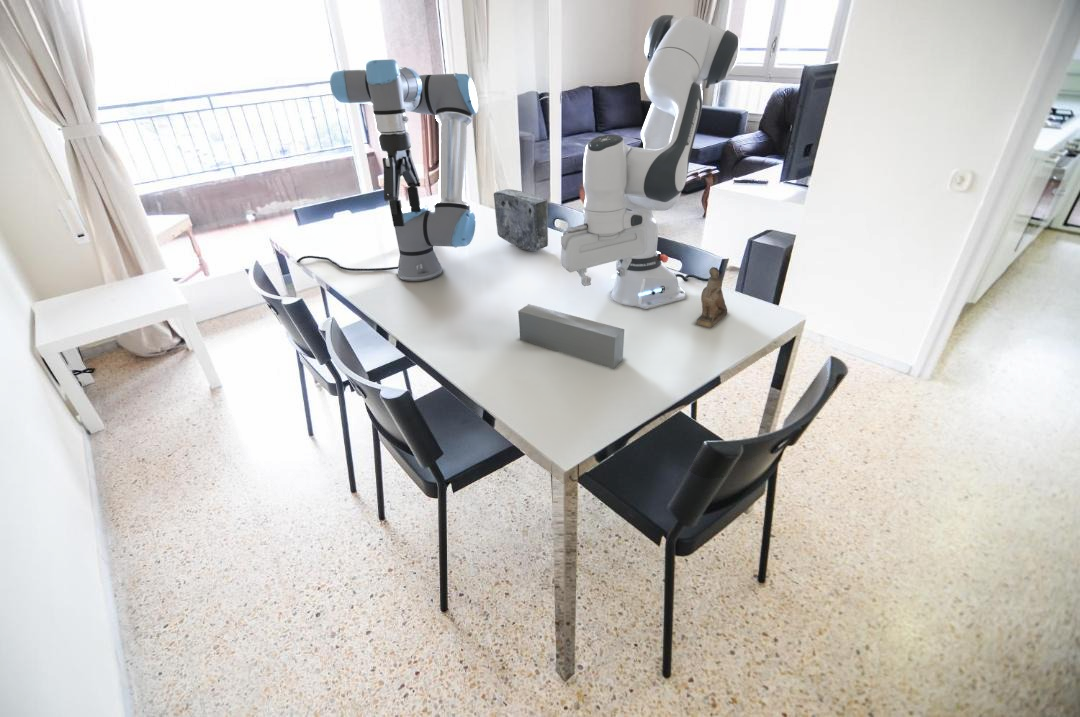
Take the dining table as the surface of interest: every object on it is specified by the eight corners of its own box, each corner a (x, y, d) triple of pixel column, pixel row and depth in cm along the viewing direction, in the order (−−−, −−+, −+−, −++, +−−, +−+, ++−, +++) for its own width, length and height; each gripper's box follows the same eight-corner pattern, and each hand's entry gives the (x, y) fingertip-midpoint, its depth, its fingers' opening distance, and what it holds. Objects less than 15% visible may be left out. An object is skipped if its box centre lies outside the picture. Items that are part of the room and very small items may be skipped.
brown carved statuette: (709, 335, 136) (713, 280, 124) (691, 329, 139) (693, 274, 128) (730, 313, 142) (736, 258, 130) (712, 307, 145) (716, 253, 133)
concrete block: (553, 252, 189) (552, 199, 179) (534, 258, 185) (532, 204, 175) (514, 236, 208) (511, 187, 198) (496, 241, 204) (492, 191, 193)
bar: (520, 339, 133) (518, 310, 128) (530, 332, 136) (528, 303, 132) (613, 368, 119) (615, 337, 115) (622, 359, 123) (624, 329, 118)
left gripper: (389, 139, 111) (406, 232, 122) (423, 125, 132) (434, 206, 143) (357, 140, 112) (376, 232, 123) (396, 126, 133) (409, 206, 144)
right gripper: (568, 233, 99) (570, 296, 107) (652, 214, 106) (649, 274, 113) (554, 225, 104) (557, 286, 111) (635, 207, 111) (633, 266, 118)
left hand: (408, 218), depth 133 cm, fingers open, 13 cm apart
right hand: (604, 280), depth 112 cm, fingers open, 8 cm apart
